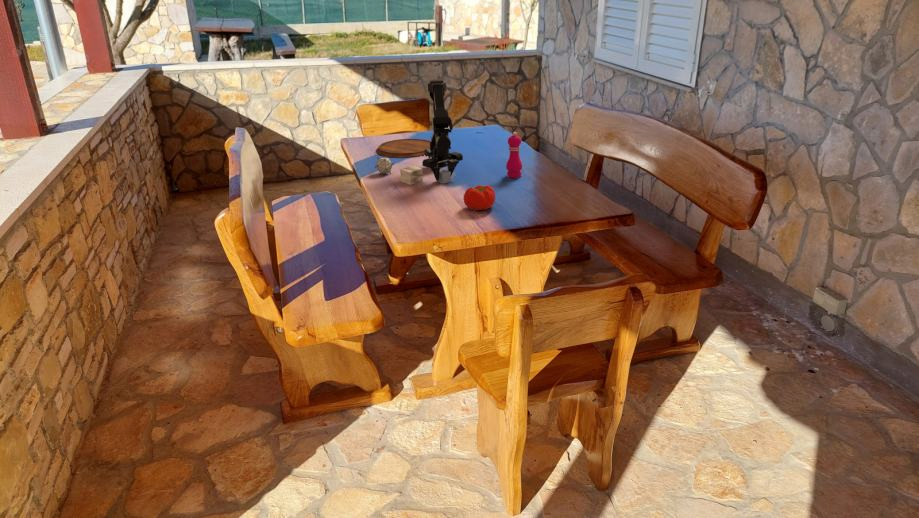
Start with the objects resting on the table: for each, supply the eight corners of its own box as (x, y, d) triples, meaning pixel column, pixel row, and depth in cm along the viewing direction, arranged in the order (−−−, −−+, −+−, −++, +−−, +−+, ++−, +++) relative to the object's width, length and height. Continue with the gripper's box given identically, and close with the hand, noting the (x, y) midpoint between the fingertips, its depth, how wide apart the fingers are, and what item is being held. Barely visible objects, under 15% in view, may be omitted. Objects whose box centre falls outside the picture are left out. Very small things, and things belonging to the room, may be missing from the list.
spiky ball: (388, 182, 292) (389, 169, 283) (371, 175, 292) (372, 162, 283) (395, 168, 296) (397, 155, 288) (379, 161, 296) (380, 148, 288)
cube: (444, 179, 282) (443, 169, 280) (450, 181, 279) (450, 171, 277) (436, 181, 279) (436, 171, 277) (443, 183, 276) (442, 173, 274)
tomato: (472, 216, 239) (472, 194, 235) (459, 206, 249) (458, 185, 246) (502, 210, 243) (502, 189, 240) (488, 201, 254) (488, 180, 250)
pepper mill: (524, 174, 285) (525, 130, 276) (518, 179, 279) (519, 134, 270) (509, 173, 288) (509, 129, 279) (503, 177, 282) (503, 133, 273)
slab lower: (413, 178, 285) (412, 172, 284) (422, 182, 280) (422, 175, 279) (400, 182, 281) (400, 175, 279) (410, 185, 276) (409, 179, 275)
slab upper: (412, 172, 284) (412, 165, 282) (422, 175, 279) (422, 168, 278) (400, 175, 279) (400, 169, 278) (410, 178, 275) (410, 172, 273)
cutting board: (403, 140, 350) (403, 135, 349) (450, 147, 333) (449, 142, 332) (363, 153, 327) (363, 148, 326) (411, 162, 309) (410, 157, 308)
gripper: (446, 137, 283) (447, 170, 290) (413, 144, 272) (415, 179, 279) (463, 141, 275) (464, 175, 282) (429, 149, 264) (431, 185, 271)
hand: (443, 178), depth 279 cm, fingers open, 7 cm apart
